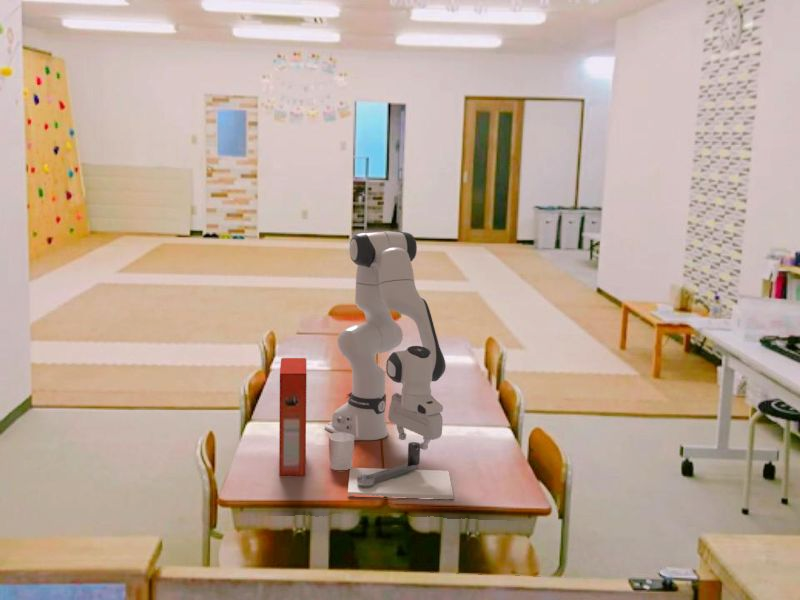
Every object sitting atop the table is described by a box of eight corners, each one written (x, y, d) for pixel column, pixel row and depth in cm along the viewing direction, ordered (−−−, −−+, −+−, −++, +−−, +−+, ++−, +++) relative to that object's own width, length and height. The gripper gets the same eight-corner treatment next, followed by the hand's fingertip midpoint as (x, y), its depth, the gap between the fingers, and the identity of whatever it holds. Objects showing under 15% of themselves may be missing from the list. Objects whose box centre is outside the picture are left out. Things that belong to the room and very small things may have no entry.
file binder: (278, 476, 259) (279, 373, 253) (279, 455, 276) (281, 357, 270) (305, 476, 260) (307, 373, 254) (305, 455, 277) (307, 358, 271)
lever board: (347, 497, 247) (347, 491, 246) (349, 472, 264) (350, 467, 264) (452, 500, 248) (453, 494, 247) (448, 475, 265) (448, 470, 265)
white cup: (334, 473, 263) (334, 442, 261) (324, 464, 270) (324, 434, 268) (357, 470, 266) (358, 439, 264) (347, 461, 273) (348, 431, 271)
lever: (364, 488, 248) (365, 463, 246) (353, 483, 251) (354, 457, 250) (423, 469, 264) (424, 445, 262) (411, 464, 267) (412, 440, 266)
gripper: (384, 393, 265) (382, 435, 268) (432, 412, 251) (428, 457, 254) (400, 389, 270) (397, 431, 273) (447, 408, 255) (443, 452, 258)
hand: (412, 444), depth 263 cm, fingers open, 8 cm apart
